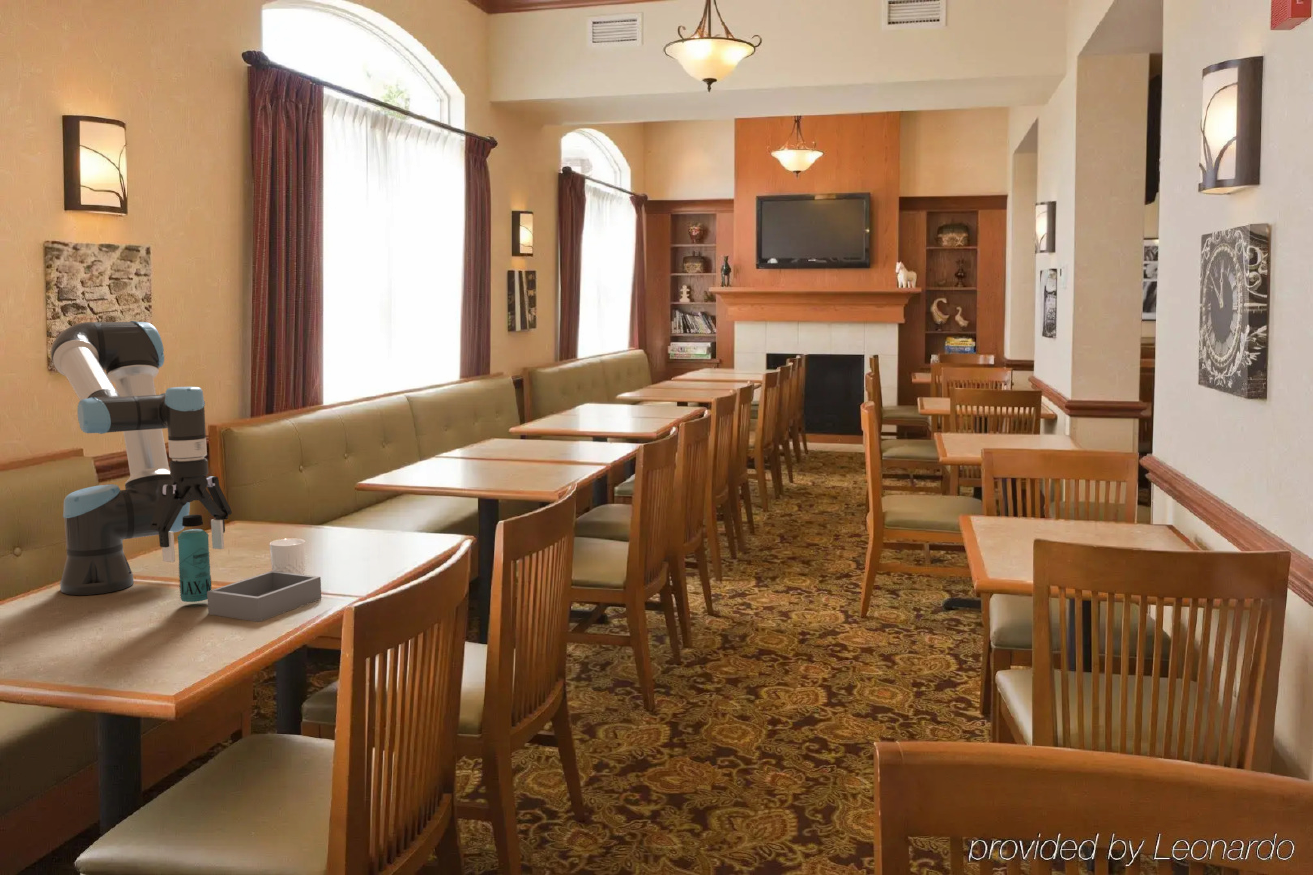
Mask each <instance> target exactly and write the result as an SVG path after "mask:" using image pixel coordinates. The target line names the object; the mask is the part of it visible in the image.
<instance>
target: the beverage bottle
mask: <svg viewBox="0 0 1313 875" xmlns="http://www.w3.org/2000/svg"><path fill="white" fill-rule="evenodd" d="M203 525H204V521H203V516H202V515H201V514H189V515H187V516H184V517H183V522H182V526H185V527H184V528H186V527H187V528H189V527H192V528H193V527H200V526H203ZM177 544H178V545H177V546H178V578H179V580H178V582H179V584H178V586H179V587H178V588H179V591H178V592H179V598H180V600H181V601H182V602H185V603H196V602H198V603H199V602H202V601H208V599H207V591H210V590H212V588H213V586H212V575H211V563H210V560H211V555H210V554H211V553H210V546H209V545H210V544H209V533H208V532H207V531H205V530H204V529H201V528H193V529H191V528H190V529H186V530H182V531H181V532H180V534H178V536H177Z"/></svg>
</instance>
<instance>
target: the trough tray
mask: <svg viewBox="0 0 1313 875" xmlns="http://www.w3.org/2000/svg"><path fill="white" fill-rule="evenodd" d="M321 579H322V578H321V576H316V575H307V574H304V575H301V574H293V573H285V572H277V571H272V570H271V571H267V572H264V573H261V574H257V575H254V576H251V577H248V578H245V579H243V580H239V581H236V582H232V583H229V584H226V585H222V586H220V587H217V588H214V589H211V590H210V591H207V612H208V613H207V614H208V615H212V616H219V617H224V618H229V619H230V618H231V619H238V620H244V621H251V622H263V621H266V620H268V619H271V618H273V617H275V616H278V615H281V614H285V613H287V612H290V611H292V610H294V609H297V608H299V607H302V606H305V605H308V604H311V603H313V602H317V601H319V600H321V599H322V583H321V582H322V580H321Z"/></svg>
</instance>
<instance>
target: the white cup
mask: <svg viewBox="0 0 1313 875" xmlns="http://www.w3.org/2000/svg"><path fill="white" fill-rule="evenodd" d="M269 551H270V552H269V553H270V562H271V571H277V572H285V573H293V574H301V575H305V569H306V568H305V567H306V566H305V563H306V540H305V539H302V538H282V539H276V540H273V541H270V542H269Z"/></svg>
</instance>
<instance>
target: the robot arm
mask: <svg viewBox="0 0 1313 875" xmlns="http://www.w3.org/2000/svg"><path fill="white" fill-rule="evenodd" d="M164 350H165V349H164V345H163V340H162V337H161V335H160V333H159V331H158V329H157V328H156V326H154V325H153V324H152V323H150V322H147V321H136V320H135V321H134V320H130V321H85V322H84V321H83V322H80V323H76V324H73V325H71V326H68V327H67V328H66V329H64V330H63V331H62V332H60V333H59V335H58V336H57V337H56V338H55V339H54V341H53V343H52V345H51V349H50V358H51V362H52V364H53V366H54V368H55V369H56V371H57V372H58V373H59V374H60V375H62V376H64V377H66V378H67V380H68V382H69V384H70V386H71V387H72V389H73V391H74V392H75V394H76V396H77V397H78V399H79V400H78V401H79V402H78V404H77V420H78V423H79V429H80V430H81V431H82V432H83V433H84V434H100V435H103V434H106V433H121V432H122V433H123V438H124V445H125V450H126V452H125V453H126V455H127V456H126V457H127V461H128V462H127V463H128V468H129V478H128V479H127V480H126V481H125V483H124V486H125V488H124V489H122V490H121V488H120V487H119V485H117V484H110V483H109V484H104V485H103V484H100V485H94V486H88V487H84V488H80V489H78V490H77V489H76V490H75V491H73V492H70V493H68V494H67V495H66V496H65V498H64V499H63V513H62V518H64V531H65V532H64V534H65V535H64V536H65V546H66V549H65V550H66V559H65V563H64V567H63V570H62V571H63V572H62V577H61V579H60V583H59V586H60V592H61V593H62V594H65V595H69V596H70V595H71V596H90V595H100V594H106V593H107V594H108V593H112V592H117V591H121V590H124V589H127V588H130V587H132V586H133V585H134V574H133V571H132V570H131V567H130V564H129V562H128V560H127V556H126V555H125V551H124V540H128V539H129V540H130V539H136V538H137V539H138V538H145V537H152V536H154V537H155V536H158V539H159V547H161V548H162V549H161V551H162V562H164V563H175V562H176V554H175V553H176V551H175V550H176V549H175V538H174V533H178V532H182V531H184V528H186V527H185V526H182V522H183V517H184V516H187V515H190V509H191V507H190V506H191V504H190V503H192V502H193V501H199V502H200V503H201V504H202V506H203V507H204V508H205V509H206V510H207V512H208V513H209V514H210V515H211V516H212V518H213V519H210V528H211V542H212V549H213V550H214V549H215V550H216V549H217V550H225V540H224V533H225V531H226V527H225V526H226V524H225V522H226V521H225V520H228V519H229V516H230V515H232V509H231V507H230V505H229V502H228V501H227V499H226V497H225V494H224V493H223V490H222V488H221V486H220V482H219V477H218V476H211V475H210V476H209V475H208V474H209V465H208V464H209V463H208V458H206V457H207V456H208V452H207V451H208V450H207V435H206V434H207V432H206V414H205V412H206V410H205V405H206V402H205V397H204V391H203V389H202V388H201V387H199V386H174V387H169V388H167V389H166V390H165V392H164V393H161V394H157V392H156V386H155V380H154V379H155V378H156V377H157V376H158V374H159V373H160V372H159V370H160V368H161V367H163V365H164V363H165V354H164V352H165V351H164ZM113 383H114V384H113ZM114 385H115V386H114ZM163 429H167V441H168V444H167V445H168V455H167V451H166V450H167V449H166V444H165V437H164V433H163ZM168 457H169V458H170V459H171V460H170V461H168Z"/></svg>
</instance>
